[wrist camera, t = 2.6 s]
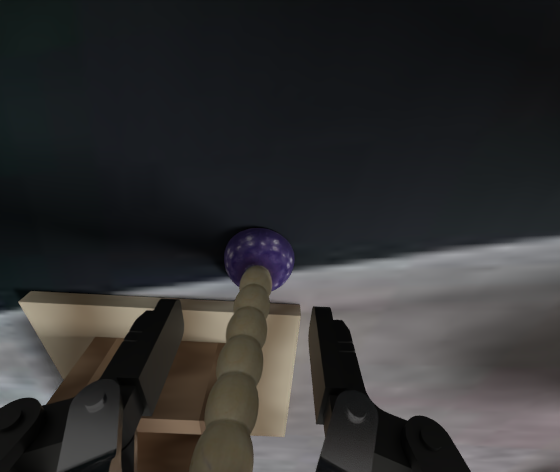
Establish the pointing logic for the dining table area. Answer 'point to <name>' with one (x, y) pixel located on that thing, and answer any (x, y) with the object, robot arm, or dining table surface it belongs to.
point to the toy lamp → (242, 351)
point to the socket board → (183, 373)
